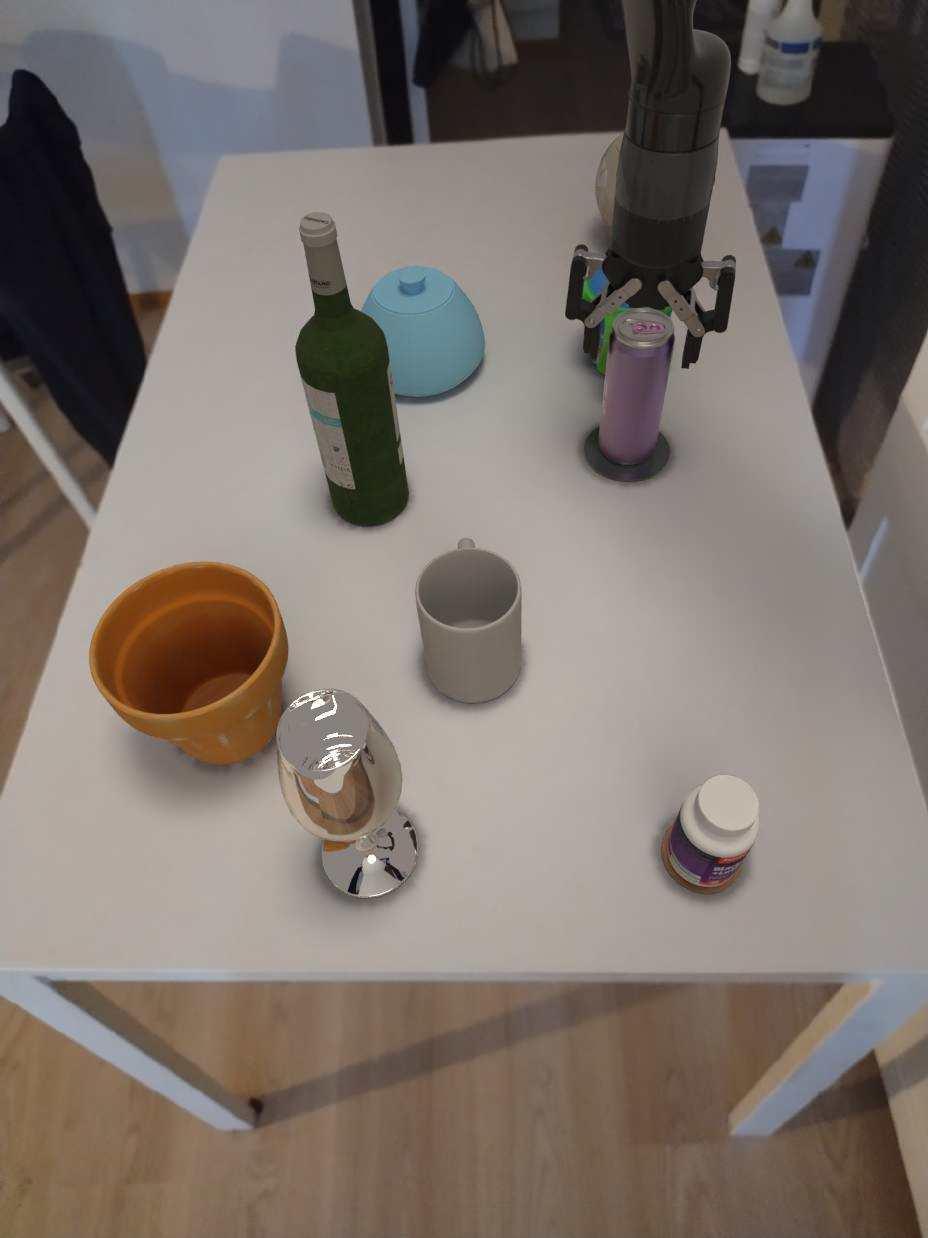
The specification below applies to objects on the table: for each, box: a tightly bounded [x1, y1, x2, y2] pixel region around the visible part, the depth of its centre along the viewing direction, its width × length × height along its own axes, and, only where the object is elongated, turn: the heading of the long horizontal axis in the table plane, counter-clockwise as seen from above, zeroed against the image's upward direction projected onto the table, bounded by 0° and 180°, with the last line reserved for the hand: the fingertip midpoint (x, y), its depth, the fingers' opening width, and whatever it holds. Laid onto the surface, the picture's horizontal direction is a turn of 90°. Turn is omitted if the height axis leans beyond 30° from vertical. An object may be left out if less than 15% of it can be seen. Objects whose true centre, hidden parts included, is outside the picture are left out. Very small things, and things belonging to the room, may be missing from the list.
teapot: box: [594, 131, 624, 241], centre depth 105 cm, size 18×14×16 cm
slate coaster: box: [583, 425, 671, 483], centre depth 90 cm, size 9×9×1 cm
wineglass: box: [275, 688, 420, 899], centre depth 59 cm, size 8×8×20 cm
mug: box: [414, 537, 523, 704], centre depth 73 cm, size 12×8×11 cm
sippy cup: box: [582, 269, 674, 375], centre depth 95 cm, size 16×10×10 cm
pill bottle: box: [667, 774, 761, 887], centre depth 61 cm, size 5×5×10 cm
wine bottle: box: [294, 211, 410, 527], centre depth 76 cm, size 8×8×30 cm
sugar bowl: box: [360, 265, 486, 398], centre depth 96 cm, size 15×15×12 cm
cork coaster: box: [661, 823, 744, 894], centre depth 65 cm, size 6×6×1 cm
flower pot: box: [88, 561, 289, 766], centre depth 69 cm, size 14×14×13 cm
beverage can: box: [598, 308, 676, 465], centre depth 84 cm, size 6×6×15 cm
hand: (639, 358), depth 81 cm, fingers open, 8 cm apart
